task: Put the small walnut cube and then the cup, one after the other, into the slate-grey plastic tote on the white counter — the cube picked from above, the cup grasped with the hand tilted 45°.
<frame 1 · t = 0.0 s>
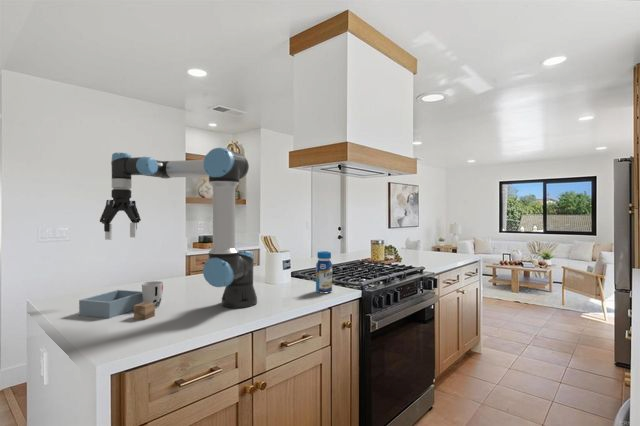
hand: (121, 238, 157), 28 cm above the worktop, tool pointing down, fingers open, 13 cm apart
cup: (152, 307, 151), on the worktop
beverage bottle: (323, 292, 181), on the worktop
tote: (114, 310, 146), on the worktop
walnut cube: (144, 317, 137), on the worktop
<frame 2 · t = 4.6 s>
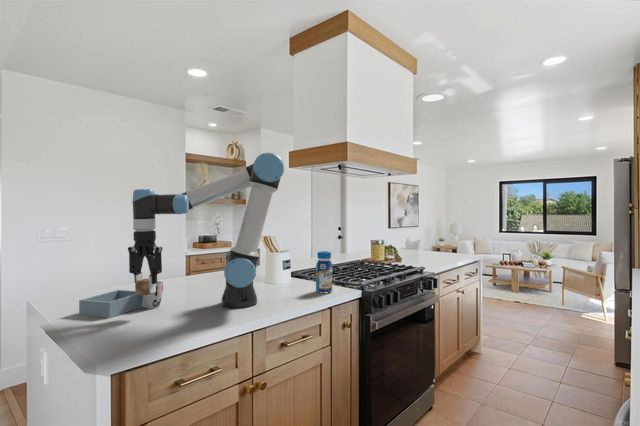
hand: (146, 292, 137), 9 cm above the worktop, tool pointing down, fingers closed on walnut cube, 5 cm apart
walnut cube: (146, 293, 137), point 9 cm above the worktop, touching gripper
everything else where it was.
when the fingers open (6 cm above the worktop, at t = 7.0 s): walnut cube drops 5 cm, resting on tote.
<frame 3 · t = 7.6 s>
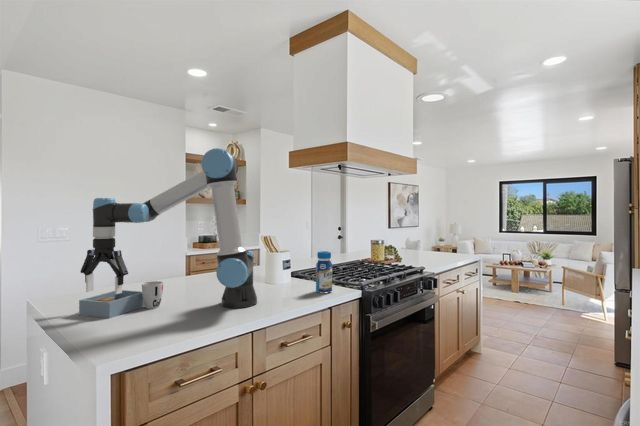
hand: (104, 292, 141), 8 cm above the worktop, tool pointing down, fingers open, 13 cm apart
walnut cube: (104, 311, 141), point 1 cm above the worktop, touching tote
everything else where it was.
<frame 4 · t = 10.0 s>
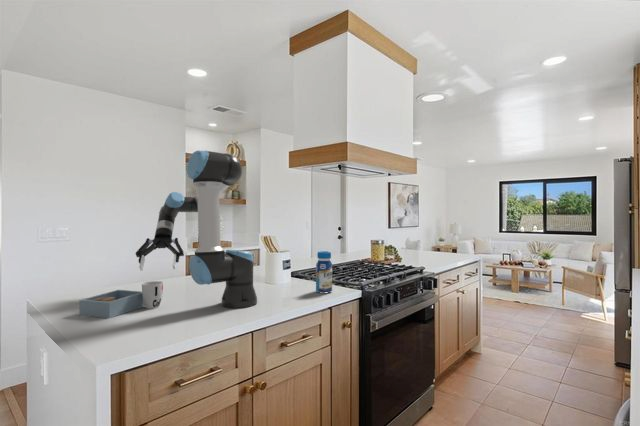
hand: (157, 268, 160), 15 cm above the worktop, tool tilted 45°, fingers open, 13 cm apart
nothing on the worktop moved.
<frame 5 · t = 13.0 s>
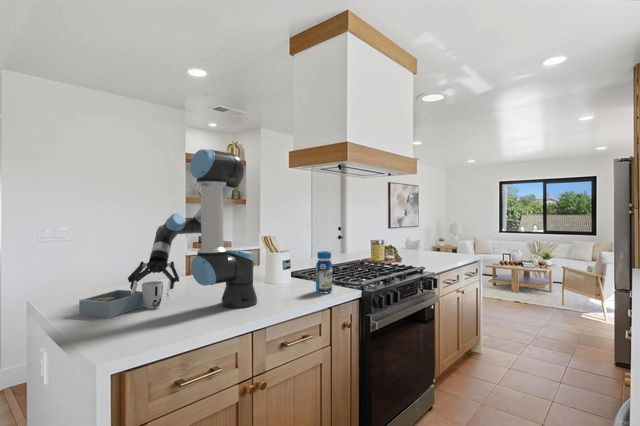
hand: (150, 295, 149), 5 cm above the worktop, tool tilted 45°, fingers open, 13 cm apart
nothing on the worktop moved.
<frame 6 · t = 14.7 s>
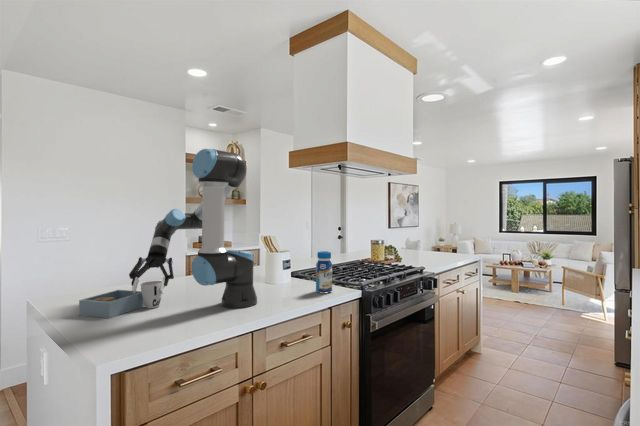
hand: (147, 292, 149), 7 cm above the worktop, tool tilted 45°, fingers open, 10 cm apart
nothing on the worktop moved.
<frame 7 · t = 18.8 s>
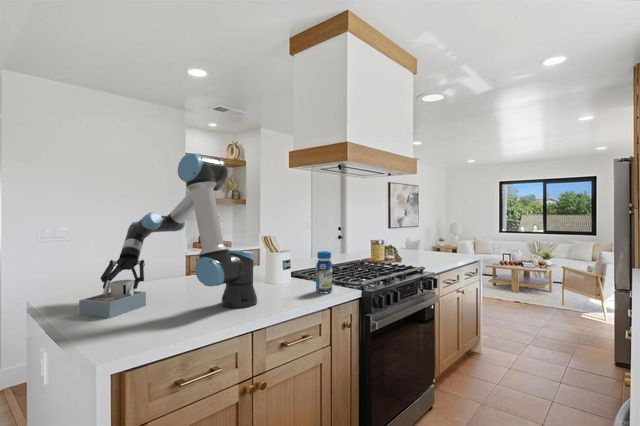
hand: (117, 295, 146), 6 cm above the worktop, tool tilted 45°, fingers open, 9 cm apart
cup: (122, 306, 149), point 1 cm above the worktop, touching gripper, tote
everything else where it was.
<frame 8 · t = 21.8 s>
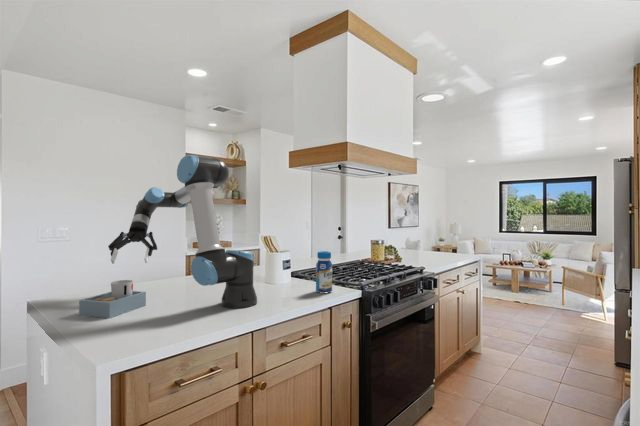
hand: (129, 261, 159), 18 cm above the worktop, tool tilted 45°, fingers open, 13 cm apart
cup: (122, 306, 149), point 1 cm above the worktop, touching tote
everything else where it was.
at the end: cup inside the target area on the tote (3.5 cm from its centre), point 0.6 cm above the tote's base; walnut cube inside the target area on the tote (5.0 cm from its centre), point 0.8 cm above the tote's base; the gripper is holding nothing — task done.
